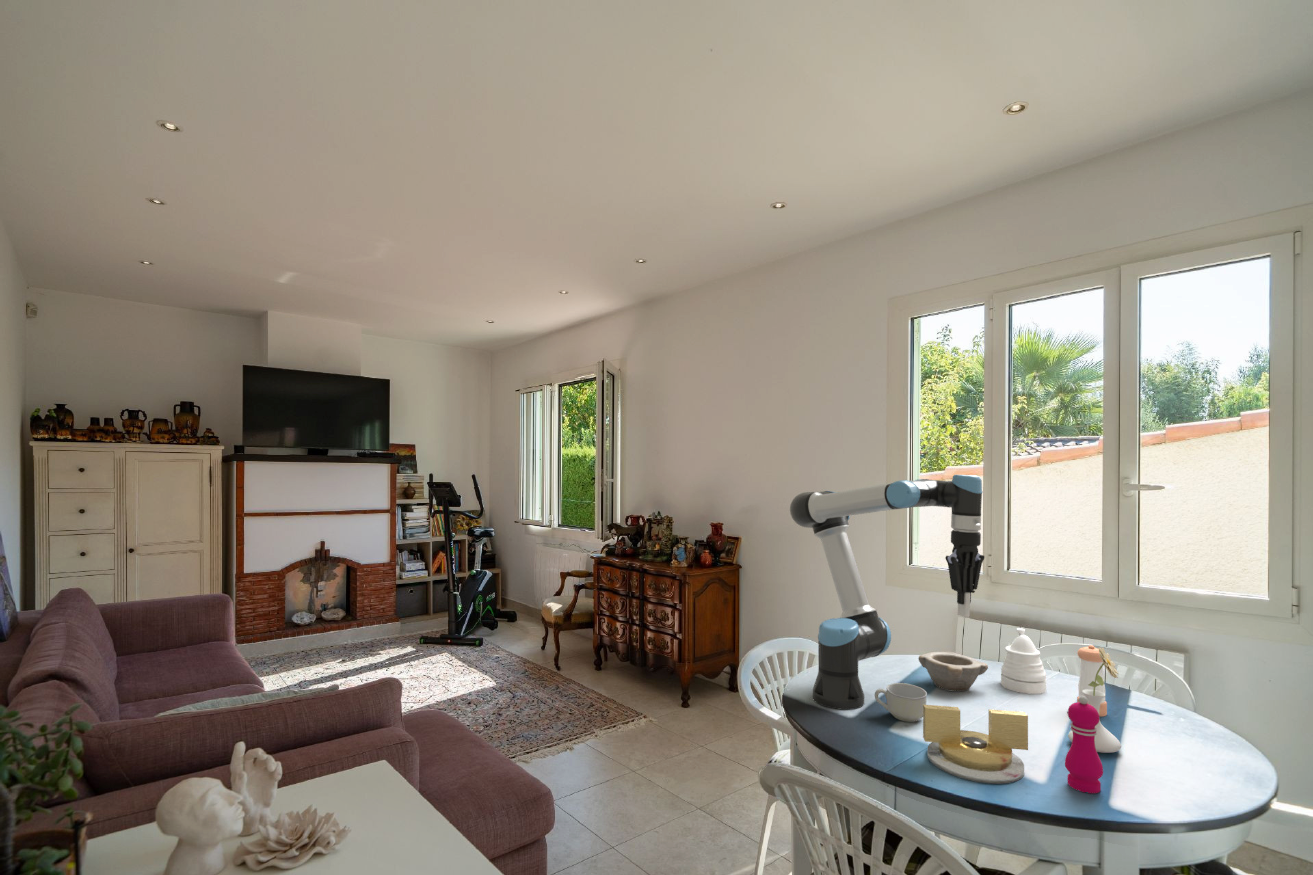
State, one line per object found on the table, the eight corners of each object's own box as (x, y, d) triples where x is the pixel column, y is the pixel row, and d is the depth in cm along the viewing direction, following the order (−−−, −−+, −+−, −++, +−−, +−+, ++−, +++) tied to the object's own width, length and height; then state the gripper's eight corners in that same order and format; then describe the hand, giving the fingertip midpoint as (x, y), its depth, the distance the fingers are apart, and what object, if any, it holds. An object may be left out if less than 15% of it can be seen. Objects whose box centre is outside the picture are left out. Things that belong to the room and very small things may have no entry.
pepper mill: (1057, 779, 153) (1057, 690, 154) (1087, 778, 154) (1086, 690, 155) (1080, 795, 146) (1079, 702, 147) (1111, 794, 147) (1110, 701, 148)
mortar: (993, 692, 211) (993, 662, 211) (953, 699, 205) (953, 668, 205) (950, 676, 227) (951, 648, 227) (912, 681, 220) (912, 653, 220)
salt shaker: (1106, 718, 190) (1105, 650, 191) (1075, 712, 195) (1075, 645, 195) (1107, 711, 196) (1107, 644, 197) (1078, 705, 201) (1078, 640, 201)
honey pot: (995, 679, 224) (995, 624, 224) (1036, 681, 222) (1036, 626, 223) (1009, 692, 211) (1009, 634, 212) (1053, 695, 209) (1053, 636, 210)
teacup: (925, 713, 193) (925, 685, 193) (928, 727, 182) (928, 697, 183) (874, 707, 197) (874, 679, 197) (874, 720, 187) (874, 691, 187)
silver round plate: (926, 772, 156) (926, 765, 156) (928, 738, 175) (928, 731, 175) (1029, 791, 148) (1029, 783, 148) (1019, 753, 167) (1019, 746, 167)
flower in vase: (1104, 760, 163) (1104, 657, 164) (1058, 743, 173) (1057, 645, 174) (1134, 750, 169) (1134, 650, 170) (1088, 734, 179) (1087, 639, 180)
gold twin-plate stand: (986, 778, 149) (986, 730, 150) (918, 749, 164) (918, 705, 164) (1031, 759, 159) (1031, 714, 160) (963, 733, 174) (963, 692, 174)
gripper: (960, 532, 180) (958, 620, 180) (993, 531, 186) (991, 617, 186) (938, 529, 187) (935, 614, 187) (970, 528, 193) (968, 610, 192)
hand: (963, 615), depth 186 cm, fingers closed
